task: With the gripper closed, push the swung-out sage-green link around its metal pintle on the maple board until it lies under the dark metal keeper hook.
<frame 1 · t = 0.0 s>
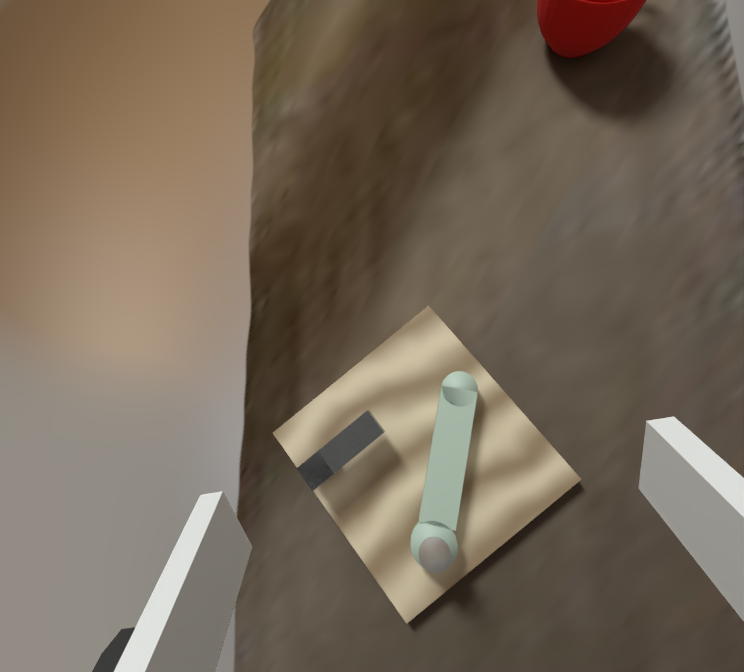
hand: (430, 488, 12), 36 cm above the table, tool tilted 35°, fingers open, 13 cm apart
base board: (418, 453, 47), on the table
link: (446, 465, 44), point 3 cm above the table, hinge at -50.0°
ceramic cup: (580, 28, 54), on the table
keeper: (349, 444, 48), resting on base board
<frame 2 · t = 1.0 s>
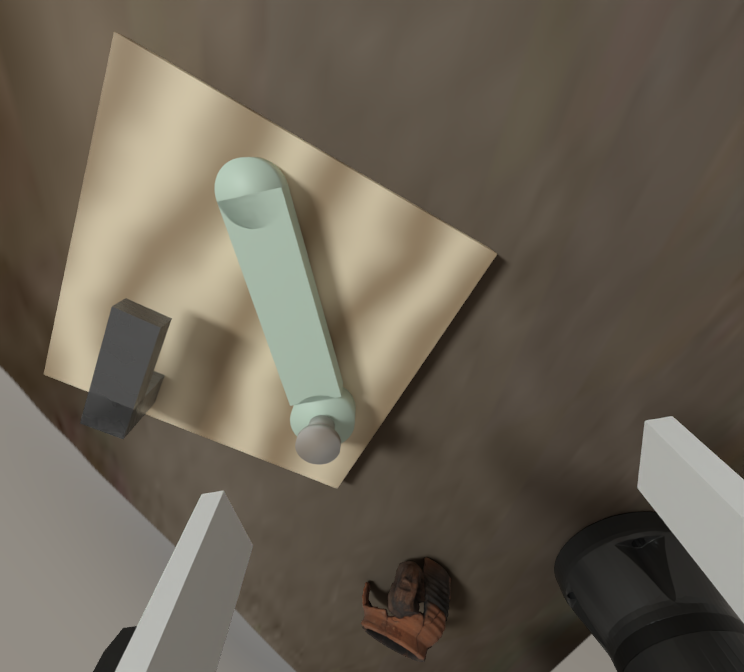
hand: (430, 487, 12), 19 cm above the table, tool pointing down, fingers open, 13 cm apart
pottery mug: (405, 572, 44), on the table
base board: (259, 311, 30), on the table
link: (294, 321, 27), point 3 cm above the table, hinge at -50.0°
keeper: (162, 339, 31), resting on base board
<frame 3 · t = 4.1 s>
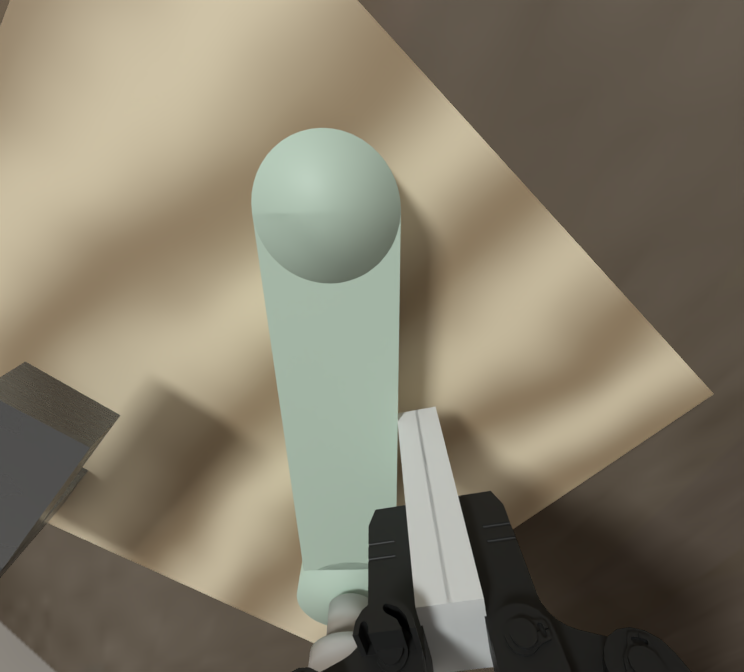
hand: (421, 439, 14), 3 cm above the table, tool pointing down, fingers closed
base board: (282, 393, 17), on the table
link: (344, 441, 15), point 3 cm above the table, hinge at -47.8°, touching gripper
keeper: (96, 404, 18), resting on base board
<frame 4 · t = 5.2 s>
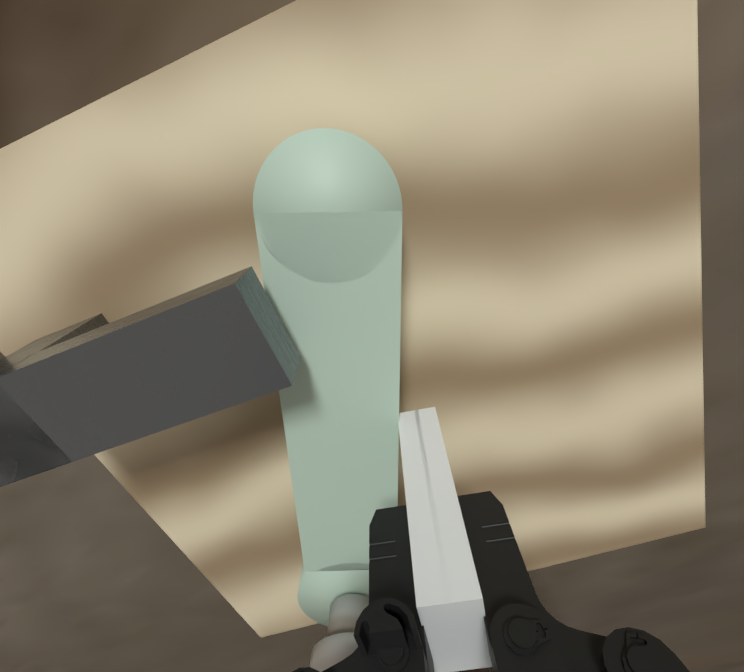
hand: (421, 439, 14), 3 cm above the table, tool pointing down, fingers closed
base board: (380, 384, 17), on the table
link: (345, 442, 15), point 3 cm above the table, hinge at -20.1°, touching gripper
keeper: (189, 314, 16), resting on base board
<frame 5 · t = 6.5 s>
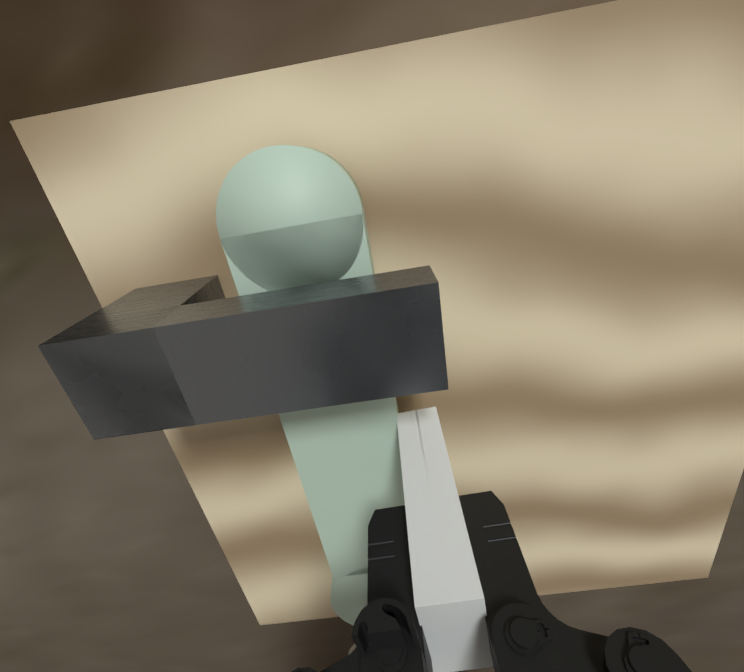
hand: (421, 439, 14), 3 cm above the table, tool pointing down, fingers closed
base board: (453, 395, 18), on the table
link: (351, 447, 15), point 3 cm above the table, hinge at 0.2°, touching gripper
keeper: (291, 292, 15), resting on base board
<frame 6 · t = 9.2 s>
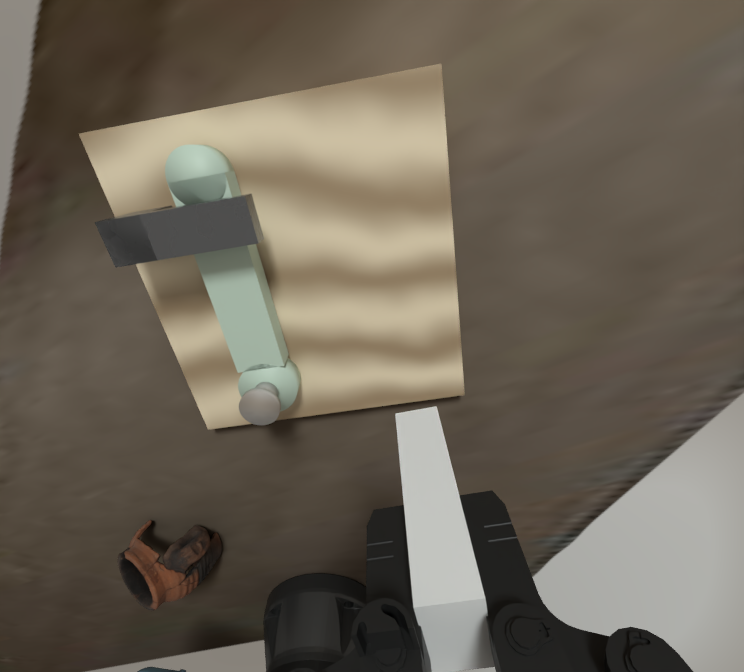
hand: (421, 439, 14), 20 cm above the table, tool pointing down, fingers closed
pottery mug: (187, 532, 47), on the table
base board: (303, 278, 33), on the table
link: (241, 295, 30), point 3 cm above the table, hinge at 0.3°
keeper: (211, 218, 31), resting on base board
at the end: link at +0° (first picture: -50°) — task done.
